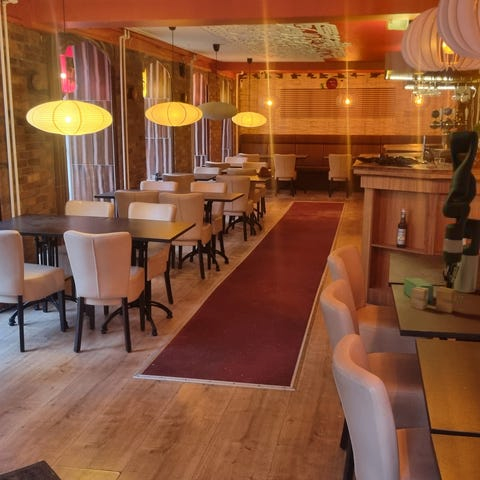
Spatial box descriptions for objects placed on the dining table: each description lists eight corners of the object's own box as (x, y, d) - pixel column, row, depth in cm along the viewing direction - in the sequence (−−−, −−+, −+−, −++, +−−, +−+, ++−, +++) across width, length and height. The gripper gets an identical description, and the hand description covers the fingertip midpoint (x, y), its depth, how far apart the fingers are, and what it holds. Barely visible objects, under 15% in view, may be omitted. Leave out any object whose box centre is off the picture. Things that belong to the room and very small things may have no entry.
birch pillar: (415, 304, 257) (417, 286, 256) (427, 307, 254) (428, 288, 253) (410, 307, 254) (412, 289, 252) (422, 310, 250) (423, 291, 249)
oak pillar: (440, 306, 254) (441, 286, 251) (454, 309, 250) (455, 289, 247) (435, 310, 250) (436, 290, 248) (450, 313, 247) (451, 293, 244)
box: (417, 302, 260) (418, 286, 259) (402, 293, 273) (404, 277, 272) (433, 302, 262) (434, 285, 260) (417, 293, 275) (419, 277, 273)
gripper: (449, 245, 254) (446, 285, 258) (437, 251, 244) (434, 292, 248) (467, 248, 250) (463, 288, 253) (456, 254, 239) (452, 296, 243)
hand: (449, 290), depth 251 cm, fingers closed
